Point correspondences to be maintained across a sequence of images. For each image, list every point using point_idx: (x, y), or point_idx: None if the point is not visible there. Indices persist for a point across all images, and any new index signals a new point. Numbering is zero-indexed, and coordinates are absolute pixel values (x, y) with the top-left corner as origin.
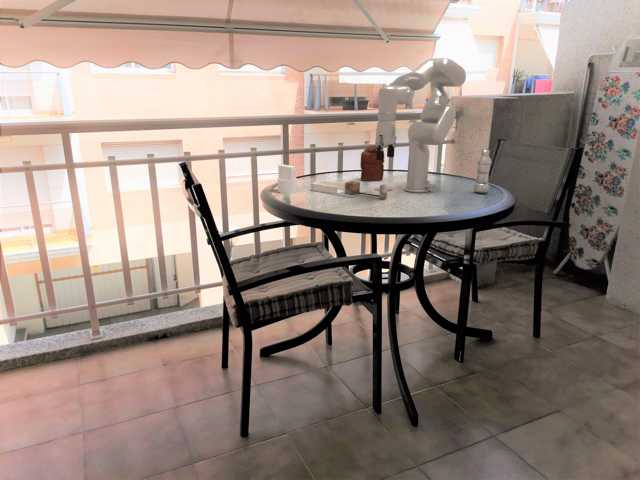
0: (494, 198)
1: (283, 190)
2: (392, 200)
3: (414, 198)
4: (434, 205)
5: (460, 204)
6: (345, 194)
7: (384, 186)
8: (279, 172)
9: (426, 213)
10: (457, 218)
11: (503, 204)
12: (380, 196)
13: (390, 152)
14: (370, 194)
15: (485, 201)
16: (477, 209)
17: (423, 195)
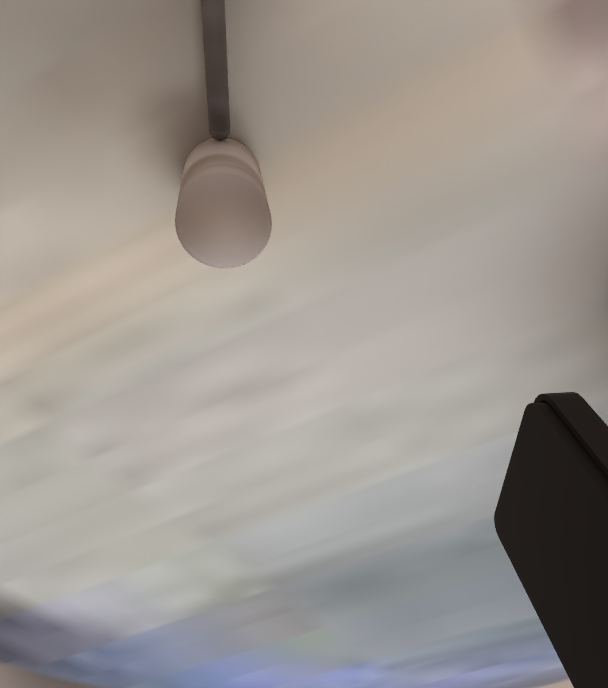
0: None
1: None
2: (229, 272)
3: (404, 371)
4: (281, 530)
5: (391, 595)
6: None
7: (191, 252)
8: None
9: (61, 574)
10: (97, 678)
11: (491, 684)
12: (183, 171)
13: (567, 567)
14: (204, 7)
15: (520, 633)
16: (332, 664)
17: (536, 376)
